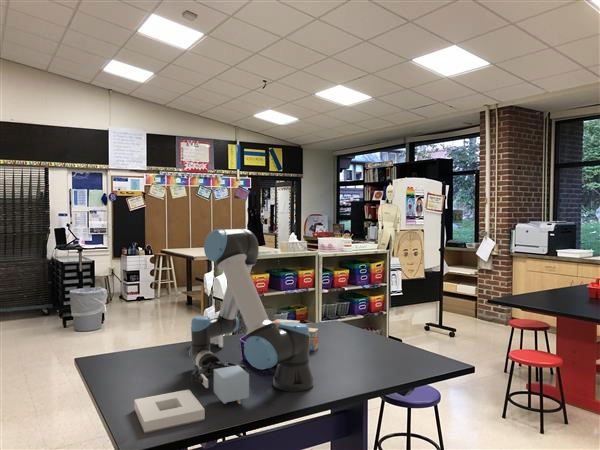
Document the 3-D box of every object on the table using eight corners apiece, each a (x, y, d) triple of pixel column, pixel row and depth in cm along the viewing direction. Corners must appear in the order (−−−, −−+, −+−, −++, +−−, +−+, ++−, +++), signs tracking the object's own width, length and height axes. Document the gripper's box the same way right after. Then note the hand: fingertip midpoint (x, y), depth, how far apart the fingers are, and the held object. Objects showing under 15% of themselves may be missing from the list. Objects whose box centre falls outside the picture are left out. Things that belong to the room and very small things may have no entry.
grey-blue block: (249, 404, 155) (249, 374, 154) (223, 410, 150) (223, 378, 150) (238, 394, 164) (238, 365, 163) (213, 399, 159) (213, 369, 159)
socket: (204, 420, 143) (204, 409, 143) (144, 433, 135) (144, 421, 135) (189, 399, 159) (189, 389, 159) (134, 410, 150) (134, 399, 150)
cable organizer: (223, 349, 216) (223, 325, 216) (200, 351, 213) (200, 326, 212) (218, 340, 230) (218, 317, 230) (197, 342, 227) (196, 319, 226)
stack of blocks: (318, 347, 219) (318, 322, 219) (314, 351, 214) (314, 325, 213) (276, 343, 226) (276, 318, 226) (271, 347, 221) (271, 321, 220)
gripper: (238, 367, 184) (259, 384, 166) (175, 377, 173) (190, 398, 154) (238, 348, 184) (259, 364, 165) (175, 357, 172) (190, 375, 154)
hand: (226, 380), depth 160 cm, fingers open, 13 cm apart
